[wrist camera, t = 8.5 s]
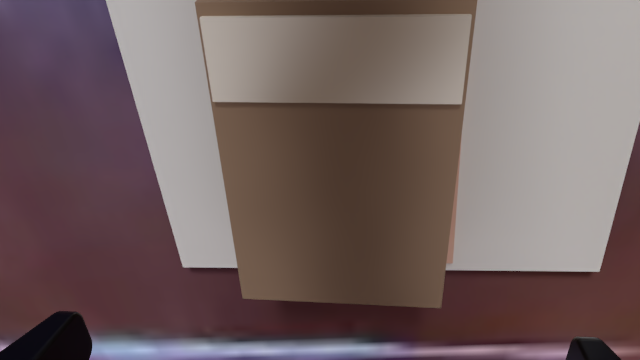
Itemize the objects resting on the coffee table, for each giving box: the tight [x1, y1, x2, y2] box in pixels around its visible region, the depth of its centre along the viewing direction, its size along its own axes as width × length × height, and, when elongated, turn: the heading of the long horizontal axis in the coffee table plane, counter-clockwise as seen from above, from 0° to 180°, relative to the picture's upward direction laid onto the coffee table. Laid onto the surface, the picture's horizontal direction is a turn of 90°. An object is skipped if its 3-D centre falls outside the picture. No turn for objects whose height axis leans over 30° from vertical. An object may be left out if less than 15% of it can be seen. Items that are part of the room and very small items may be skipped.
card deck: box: [195, 0, 477, 308], centre depth 15 cm, size 6×9×3 cm, turn 2°
